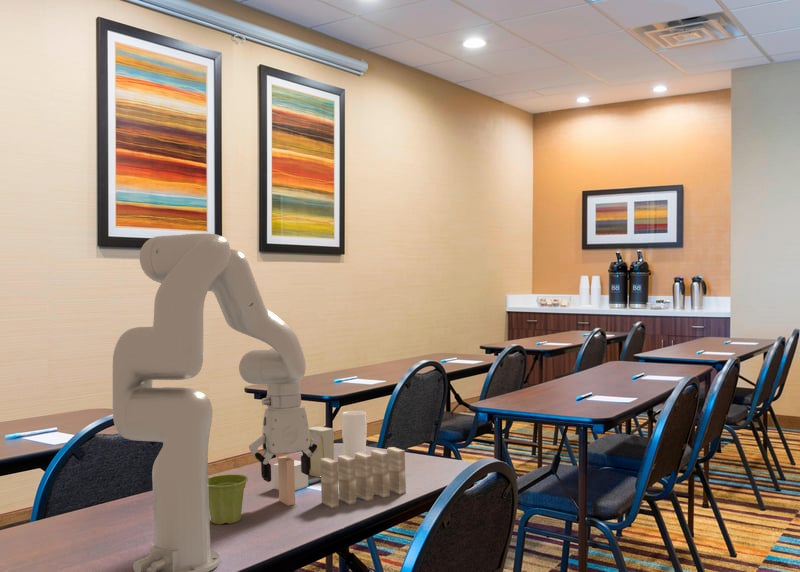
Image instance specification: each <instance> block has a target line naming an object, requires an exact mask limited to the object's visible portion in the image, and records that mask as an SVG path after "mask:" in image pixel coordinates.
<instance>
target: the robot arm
mask: <svg viewBox="0 0 800 572" xmlns="http://www.w3.org/2000/svg"><path fill="white" fill-rule="evenodd" d="M139 264H140V267H141V269H142V271H143V273H144V274H145V275H146V276H147V277H148V278H149V279H150V280H152V281H154V282H155V283H159V287H158V289H157V291H156V294H155V298H154V305H153V306H154V307H153V322H152V323H153V325H152V326H138V327H133V328H130V329H128V330H126V331H125V332H124V333H122V334H121V335H120V337H119V338H118V340H117V342H116V343H115V346H114V350H113V355H112V418H113V424H114V427H115V431H117V433H118V434H119V436H120V437H122V438H124V439H126V440H129V441H135V442H136V441H140V442H141V441H142V442H157V443H162V447H161V449H160V451H159V453H158V455H157V457H156V458H155V460H154V462H153V465H152V472H151V478H152V479H151V481H152V504H153V505H152V510H153V512H152V513H153V538H154V539H153V541H154V543H153V544H154V545H153V546H151V547H149V554H147V556H146V557H142V558H141V559H138V560H136V561H135V562H133V564H132V568H133V570H134V572H144V571H145V572H211V571H213V570H214V569H215V568H217V567H218V566H219V564H220V563H221V562H220V560H221V558H220V554H219V553H218V552H217V551H216V550H213V549H211V528H210V527H211V524H210V523H211V522H210V520H211V518H210V510H209V485H208V478H209V442H210V440H209V439H210V433H211V427H212V420H213V406H212V402H211V400H210V398H209V396H207V395H206V393H204V392H202V391H200V390H198V389H196V388H195V389H194V388H190V387H167V386H165V387H163V386H162V387H153V382H154V381H158V380H159V381H167V380H168V381H180V380H181V381H183V380H189V379H192V378H195V377H196V376H198V374H199V373H200V372H201V370H202V367H203V362H204V309H205V308H204V306H205V300H206V298H207V297H206V296H207V294H208V292H211V293H213V294H214V296H215V298H216V300H217V303H218V305H219V307H220V310H221V312H222V315H223V317H224V320H225V322H226V324H227V325H228V327H230V328H231V329H232V330H235V331H237V332H239V333H241V334H242V335H243V334H244V335H245V336H248V337H252V338H253V339H256V340H259V341H261V342H264V343H265V344H266V345H269V347H272V348H270V349H254V350H251V351H248V352H247V353H245V354H244V355H243V356H242V357H241V359H240V361H239V364H238V371H239V375H240V377H241V379H242V380H244V381H245V382H246V383H248V384H252V385H266V390H267V393H266V398H263V399H261V405H262V406H266V407H267V408H265V409H264V413H263V419H262V420H263V421H262V433H261V436H260V437H259V438H258V439H256V440H255V441H254V442H253V441H252V443H250V444H249V445H248V449H249V451H250V452H251V454H252V456H253V457H254V458H255V459H256V460H257V461H258V462H260V467H261V475H260V476H261V478H263V480H264V481H266V482H267V483H269V482H270V483H271V481H272V465H271V463H269V462H270V461H271V459H272V458H273V456H278V455H285V454H292V453H297V452H301V454H302V455H301V457H300V461H301V472H302V473H304V474H306V475H308V476H310V475H309V474H310V470H311V458H310V457H312V455H313V452H314V451H315V450H316V449H317V445H318V443H319V441H320V439H321V437H320V436H319V435H316V434H314V433H312V432H310V431H309V428H310V427H309V422H308V421H309V419H308V414H307V411H306V410H307V409H306V407H305V406H304V405H302V396H301V394H302V393H301V392H302V391H301V381H302V380H303V379H304V377H305V374H306V370H307V369H306V367H307V366H306V365H307V364H306V359H305V356H304V351H303V348H302V345H301V342H300V340H299V338H298V335H297V334H296V333H295V331H294V330H293V329H292V328H291V327H290V326H289V325H288V324H287V323H286V322H285V321H284V320H283V319H281V318H280V317H279V316H278V315H276V314H275V313H273V312H272V311H271V310H269V309H268V308H267V307H266V306H265V304H264V303H265V302H264V301H263V297H262V295H261V293H260V290H259V288H258V285H257V281H256V280H255V277H254V274H253V272H252V269H251V267H250V264H249V262H248V259H247V258H246V255H244V254H243V253H242V252H241V251H239V250H238V249H237V250H236V249H235V248H234V249H233V248H231V245H230V242H229V241H228V240H227V239H226V238H225V237H224V236H222V235H220V234H215V233H189V234H188V233H187V234H173V235H162V236H160V235H159V236H154V237H151V238H149V239H148V240H146V241H145V242H144V244H143V245H142V246H141V248H140V252H139ZM153 380H154V381H153ZM310 438H312V443H311V444H310ZM261 446H262V450H263V452H262V453H260V451H259V450H258V449H259V447H261Z"/></svg>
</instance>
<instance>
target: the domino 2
mask: <svg viewBox="0 0 800 572" xmlns="http://www.w3.org/2000/svg"><path fill="white" fill-rule="evenodd" d="M320 482H321V483H320V486H321V487H320V488H321V503H322V504H323V505H325V506H327V507H329V508H331V509H334V508H339V507H340V500H339V480H338V460H335V459H334V460H332V459H330V458H322V459H321V478H320Z"/></svg>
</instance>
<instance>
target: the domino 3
mask: <svg viewBox="0 0 800 572" xmlns="http://www.w3.org/2000/svg"><path fill="white" fill-rule="evenodd" d="M337 462H338V489H339V501H341V502H344V503H345V504H347V505H354V504H357V496H356V473H355V458H352V457H349V456H347V455H345V454H342V455H338V456H337Z"/></svg>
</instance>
